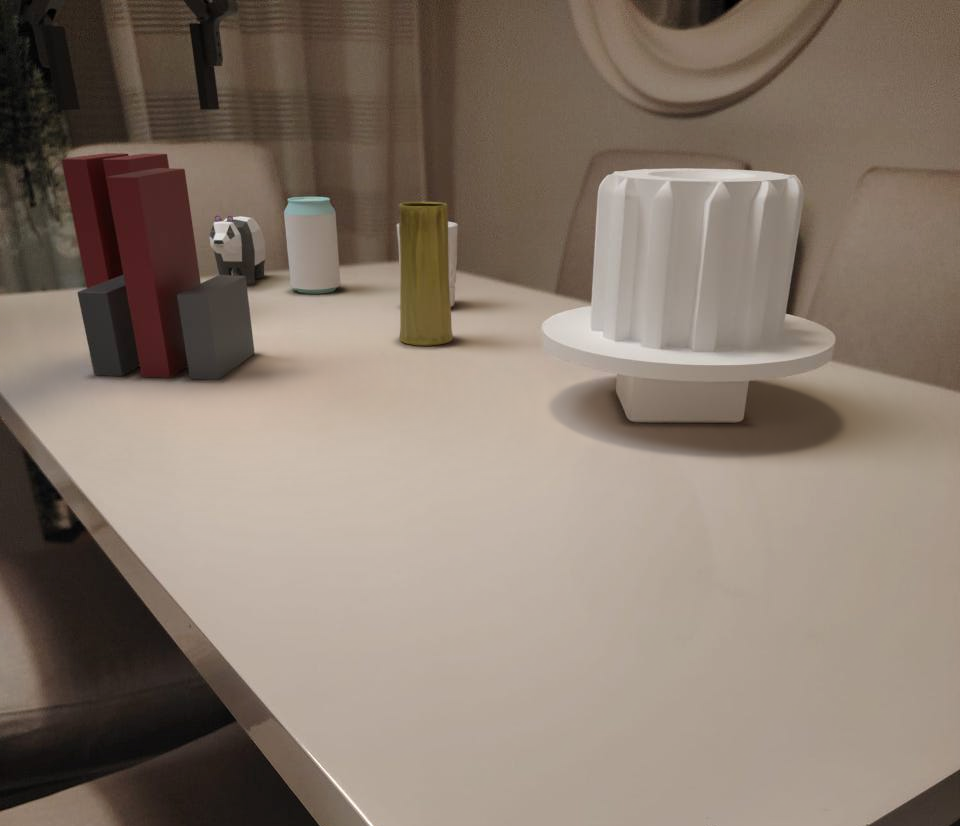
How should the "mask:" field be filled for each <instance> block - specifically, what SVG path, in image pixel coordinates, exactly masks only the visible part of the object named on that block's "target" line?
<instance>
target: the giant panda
mask: <svg viewBox="0 0 960 826" xmlns="http://www.w3.org/2000/svg"><path fill="white" fill-rule="evenodd" d="M208 237H209V244H210V248H211V249H212V250H213V253H214V254H213V255H214V257H215V262H216V266H217V271H218V275H234V276H246V284H247V286H252V285H254V284H255V279H263V278H264V277H265V264H266V263H265V262H266V250H267V249H266V247H267V246H266V242H265V238H264V233H263V231H262V229H261V227H260V225H259V224H258V223H257V221H256V219H255V218H253V217H249V216H243V215H240V216H239V215H238V216H231V215H228V216H227V217H226V218H225V219H223V220H222V217H221V216H219V215H215V216H214V221H213V224H212V227H211V229H210V233H209V234H208Z"/></svg>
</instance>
